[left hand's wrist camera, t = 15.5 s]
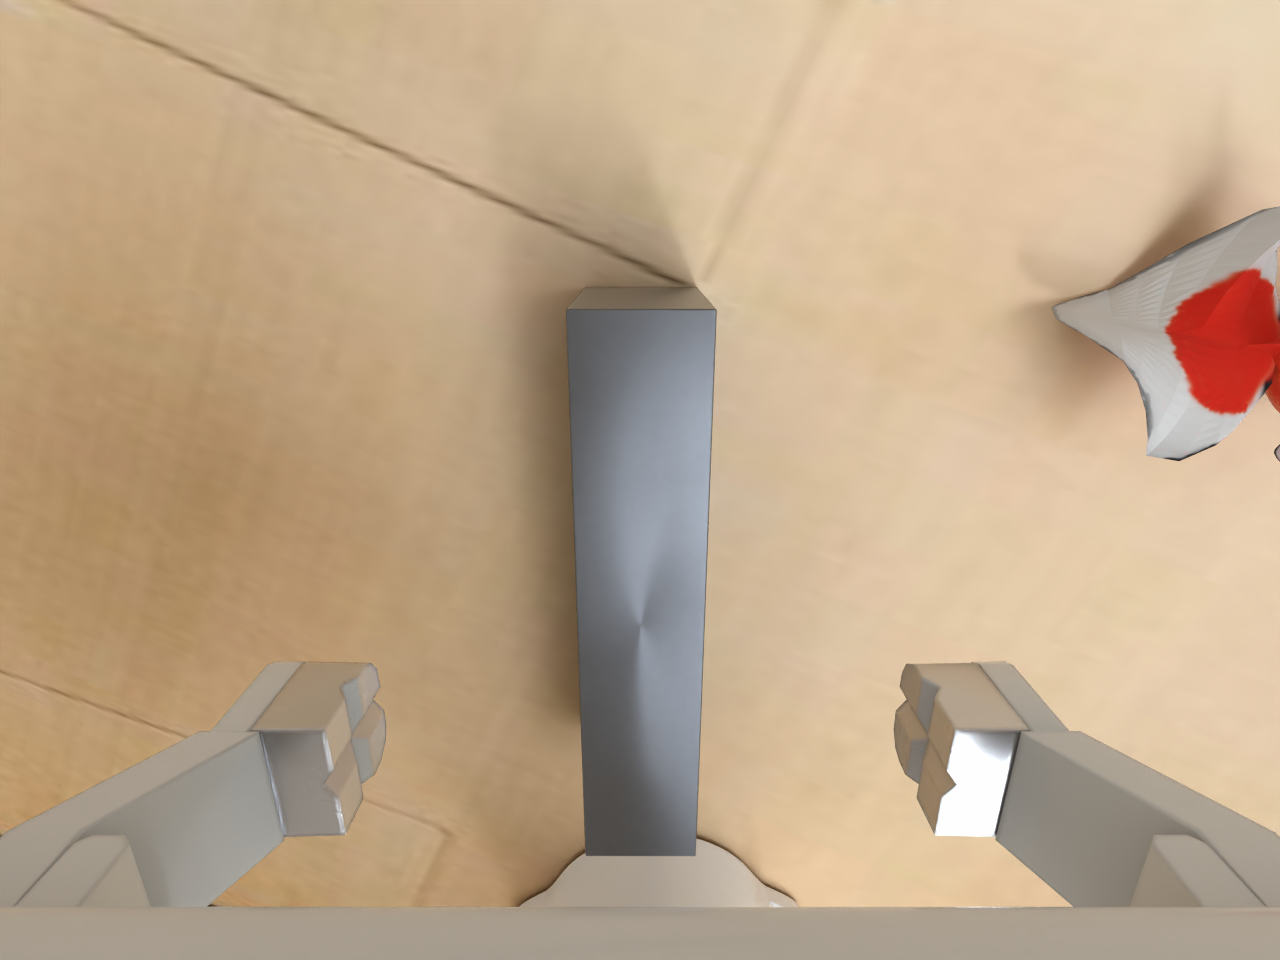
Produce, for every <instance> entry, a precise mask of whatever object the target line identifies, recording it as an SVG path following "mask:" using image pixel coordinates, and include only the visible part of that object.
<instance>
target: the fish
mask: <svg viewBox="0 0 1280 960" xmlns="http://www.w3.org/2000/svg"><path fill="white" fill-rule="evenodd" d="M1279 247H1280V207H1274V208H1269V209H1263V210H1261V211H1258V212H1256V213H1254V214H1252V215H1250V216H1248V217H1245V218H1243V219H1241V220H1239V221H1237V222H1235V223H1232V224H1230V225H1228V226H1226V227H1224V228H1222V229H1219V230H1217V231H1215V232H1213V233H1211V234H1209V235H1206V236H1204V237H1202V238H1200V239H1198V240H1196V241H1194V242H1191V243H1189V244H1187V245H1185V246H1184V247H1182V248H1180V249H1179V250H1177V251H1175V252H1173V253H1172V254H1170V255H1168V256H1167V257H1165V258H1163V259H1161V260H1160V261H1158V262H1156V263H1155V264H1153V265H1151V266H1149V267H1148V268H1146V269H1144V270H1142V271H1141V272H1139V273H1137V274H1135V275H1133V276H1132V277H1130V278H1128V279H1126V280H1125V281H1123V282H1121V283H1119V284H1117V285H1116V286H1114V287H1112V288H1110V289H1108V290H1104V291H1100V292H1096V293H1093V294H1089V295H1086V296H1083V297H1079V298H1076V299H1073V300H1070V301H1067V302H1063V303H1060V304H1057V305H1055V306H1053V307H1052V310H1053V312H1054V315H1055V317H1056V319H1058V320H1059V321H1061V322H1062V323H1064V324H1066V325H1067V326H1069V327H1071V328H1073V329H1074V330H1076V331H1078V332H1080V333H1082V334H1084V335H1085V336H1087V337H1088V338H1090V339H1091V340H1093V341H1094V342H1096V343H1097V344H1099V345H1100V346H1102V347H1103V348H1105V349H1106V350H1108V351H1109V352H1111V353H1112V354H1114V355H1115V356H1117V357H1118V358H1120V359H1121V360H1123V361H1124V363H1125V364H1126V366H1127V367H1128V369H1129V371H1130V372H1131V374H1132V375H1133V377H1134V378H1135V380H1136V381H1137V383H1138V386H1139V390H1140V393H1141V396H1142V400H1143V403H1144V406H1145V409H1146V419H1147V431H1148V443H1147V452H1146V456H1152V457H1158V458H1164V459H1170V460H1176V461H1181V460H1183V459H1185V458H1188V457H1190V456H1192V455H1194V454H1197V453H1199V452H1201V451H1204V450H1206V449H1208V448H1210V447H1213V446H1215V445H1216V444H1218V443H1219V442H1220V441H1221V440H1222V439H1224V438H1225V437H1226V436H1227V435H1228V434H1230V433H1231V432H1232V431H1233V430H1234V429H1235V428H1236V427H1237V426H1238V425H1239V424H1240V422H1241V421H1242V420H1243V419H1244V418H1245V417H1246V415H1247V414H1248V413H1249V412H1250V411H1251V409H1252V408H1253V407H1254V406H1255V404H1256V403H1257V402H1258V401H1259V399H1260V398H1261V397H1262V396H1263V394H1264V393H1266V395H1267V397H1268V399H1269V400H1270V402H1271V403H1272V405H1273V406H1274V407H1275V409H1276V410H1277V411H1278V412H1279V413H1280V302H1279V299H1278V295H1277V291H1276V288H1275V285H1276V274H1277V249H1278V248H1279ZM1274 454H1275V456H1276V458H1277V459H1278V460H1279V461H1280V445H1279V446H1278V447H1277V448H1276V449H1275V451H1274Z"/></svg>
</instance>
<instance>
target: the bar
mask: <svg viewBox="0 0 1280 960" xmlns="http://www.w3.org/2000/svg"><path fill="white" fill-rule="evenodd" d="M716 315H717V310H716V309H715V307H714V306H713V305H712V304H711V303H710V302H709V301H708V299H707V298H706V297H705V296H704V295H703V294H702V293H701V291H700V290H699V289H698V288H697V287H585V288H584V289H583V291H582V292H581V293H580V294H579V295H578V296H577V298H576V299H575V300H574V301H573V302H572V303H571V305H570V306H569V307H568V308H567V309H566V325H567V353H568V381H569V409H570V436H571V464H572V492H573V520H574V548H575V576H576V603H577V631H578V659H579V687H580V715H581V743H582V770H583V798H584V826H585V854H586V856H695V855H696V836H697V810H698V784H699V758H700V732H701V706H702V680H703V654H704V627H705V601H706V575H707V549H708V523H709V497H710V471H711V445H712V419H713V393H714V367H715V341H716Z"/></svg>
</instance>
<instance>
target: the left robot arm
mask: <svg viewBox="0 0 1280 960" xmlns="http://www.w3.org/2000/svg"><path fill="white" fill-rule="evenodd" d="M379 688H380V683H379V677H378V672H377V668H376V667H375V666H374V665H373V664H372V663H347V662H274V663H271V664H268V665H267V666H266V667H265V668H264V669H263V670H262V672H261V673H260V674H259V675H258V676H257V677H256V679H255V680H254V681H253V682H252V683H251V684H250V686H249V687H248V688H247V689H246V690H245V691H244V693H243V694H242V695H241V696H240V697H239V698H238V700H237V701H236V702H235V703H234V704H233V705H232V707H231V708H230V709H229V710H228V711H227V713H226V714H225V715H224V716H223V717H222V718H221V720H220V721H219V722H218V723H217V724H216V725H215V727H214V728H213V729H212V730H211V731H200V732H198V733H196V734H194V735H192V736H190V737H188V738H186V739H184V740H182V741H180V742H178V743H176V744H175V745H173V746H171V747H169V748H167V749H165V750H163V751H161V752H159V753H157V754H155V755H153V756H151V757H149V758H148V759H146V760H144V761H142V762H140V763H138V764H136V765H134V766H132V767H130V768H128V769H126V770H124V771H122V772H120V773H119V774H117V775H115V776H113V777H111V778H109V779H107V780H105V781H103V782H101V783H99V784H97V785H95V786H93V787H91V788H90V789H88V790H86V791H84V792H82V793H80V794H78V795H76V796H74V797H72V798H70V799H68V800H66V801H64V802H63V803H61V804H59V805H57V806H55V807H53V808H51V809H49V810H47V811H45V812H43V813H41V814H39V815H37V816H35V817H34V818H32V819H30V820H28V821H26V822H24V823H22V824H20V825H18V826H16V827H14V828H12V829H10V830H8V831H7V832H5V833H4V834H3V835H2V836H1V837H0V960H1280V837H1279V836H1278V835H1277V834H1276V833H1275V832H1273V831H1271V830H1269V829H1267V828H1265V827H1263V826H1261V825H1259V824H1258V823H1256V822H1254V821H1252V820H1250V819H1248V818H1246V817H1244V816H1242V815H1240V814H1238V813H1236V812H1234V811H1232V810H1231V809H1229V808H1227V807H1225V806H1223V805H1221V804H1219V803H1217V802H1215V801H1213V800H1211V799H1209V798H1207V797H1206V796H1204V795H1202V794H1200V793H1198V792H1196V791H1194V790H1192V789H1190V788H1188V787H1186V786H1184V785H1182V784H1180V783H1179V782H1177V781H1175V780H1173V779H1171V778H1169V777H1167V776H1165V775H1163V774H1161V773H1159V772H1157V771H1155V770H1154V769H1152V768H1150V767H1148V766H1146V765H1144V764H1142V763H1140V762H1138V761H1136V760H1134V759H1132V758H1130V757H1128V756H1127V755H1125V754H1123V753H1121V752H1119V751H1117V750H1115V749H1113V748H1111V747H1109V746H1107V745H1105V744H1103V743H1102V742H1100V741H1098V740H1096V739H1094V738H1092V737H1090V736H1088V735H1086V734H1084V733H1082V732H1080V731H1069V730H1068V729H1067V728H1066V727H1065V725H1064V724H1063V723H1062V722H1061V721H1060V720H1059V718H1058V717H1057V716H1056V715H1055V714H1054V713H1053V711H1052V710H1051V709H1050V708H1049V707H1048V706H1047V704H1046V703H1045V702H1044V701H1043V700H1042V699H1041V697H1040V696H1039V695H1038V694H1037V693H1036V691H1035V690H1034V689H1033V688H1032V687H1031V686H1030V684H1029V683H1028V682H1027V681H1026V680H1025V679H1024V677H1023V676H1022V675H1021V674H1020V673H1019V672H1018V670H1017V669H1016V668H1015V667H1014V666H1013V665H1012V664H1010V663H1008V662H1006V661H993V662H972V663H931V664H906V666H905V668H904V670H903V672H902V676H901V682H900V688H901V690H902V691H903V693H904V695H905V697H906V699H907V700H906V701H905V702H904V703H903V704H902V705H901V706H900V707H899V708H898V709H897V710H896V714H895V723H894V737H895V748H896V751H897V755H898V758H899V762H900V764H901V766H902V768H903V770H904V773H905V775H907V776H908V777H910V778H911V779H912V780H914V781H915V782H917V783H918V784H919V787H918V793H917V800H918V802H919V804H920V806H921V808H922V810H923V812H924V814H925V816H926V818H927V820H928V822H929V824H930V826H931V828H932V830H933V832H934V834H935V835H948V836H984V837H996V841H998V842H999V843H1000V844H1001V845H1002V846H1003V847H1005V848H1006V849H1007V850H1008V851H1009V852H1010V853H1012V854H1013V855H1014V856H1015V857H1016V858H1017V859H1019V860H1020V861H1021V862H1022V863H1023V864H1024V865H1026V866H1027V867H1028V868H1029V869H1030V870H1031V871H1033V872H1034V873H1035V874H1036V875H1037V876H1038V877H1040V878H1041V879H1042V880H1043V881H1044V882H1045V883H1047V884H1048V885H1049V886H1050V887H1051V888H1052V889H1054V890H1055V891H1056V892H1057V893H1058V894H1059V895H1061V896H1062V897H1063V898H1064V899H1065V900H1066V901H1067V902H1069V903H1070V904H1071V905H1072V906H1073V907H798V905H797V904H796V902H795V901H794V900H793V899H791V898H790V897H788V896H786V895H784V894H782V893H780V892H778V891H776V890H774V889H772V888H769V887H767V886H765V885H764V884H763V883H761V882H760V881H759V880H758V879H757V878H756V877H755V876H754V874H753V873H752V872H751V871H750V870H749V869H748V868H747V867H746V866H745V865H744V864H743V863H742V862H741V861H740V860H739V859H738V858H736V857H735V856H734V855H732V854H731V853H729V852H727V851H726V850H724V849H722V848H720V847H718V846H716V845H714V844H712V843H709V842H706V841H704V840H700V839H697V838H696V855H695V856H586V854H585V853H584V854H582V855H581V856H579V857H578V858H577V859H576V860H574V861H573V862H572V863H571V864H570V865H569V866H568V867H567V868H566V869H565V870H564V871H563V872H562V874H561V875H560V876H559V878H558V879H557V880H556V881H555V883H554V884H553V885H552V886H551V887H550V888H549V889H548V890H546V891H544V892H542V893H540V894H538V895H536V896H535V897H533V898H531V899H529V900H527V901H526V902H524V903H523V904H521V905H520V906H519V907H207V906H208V905H209V904H210V903H212V902H213V901H214V900H215V899H216V898H217V897H219V896H220V895H221V894H222V893H223V892H224V891H226V890H227V889H228V888H229V887H230V886H231V885H233V884H234V883H235V882H236V881H237V880H238V879H240V878H241V877H242V876H243V875H244V874H245V873H247V872H248V871H249V870H250V869H251V868H252V867H254V866H255V865H256V864H257V863H258V862H259V861H261V860H262V859H263V858H264V857H265V856H266V855H268V854H269V853H270V852H271V851H272V850H273V849H275V848H276V847H277V846H278V845H279V844H280V843H282V842H283V841H284V837H296V836H330V835H345V834H346V832H347V830H348V828H349V826H350V824H351V822H352V820H353V818H354V816H355V814H356V812H357V810H358V808H359V806H360V804H361V802H362V800H363V793H362V787H361V784H362V783H363V782H365V781H366V780H368V779H369V778H370V777H372V776H373V775H375V773H376V770H377V768H378V766H379V764H380V762H381V759H382V755H383V750H384V746H385V741H386V721H385V714H384V710H383V709H382V708H381V707H380V706H379V705H378V704H377V703H376V702H375V701H374V700H373V699H374V697H375V695H376V693H377V691H378V690H379Z"/></svg>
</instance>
